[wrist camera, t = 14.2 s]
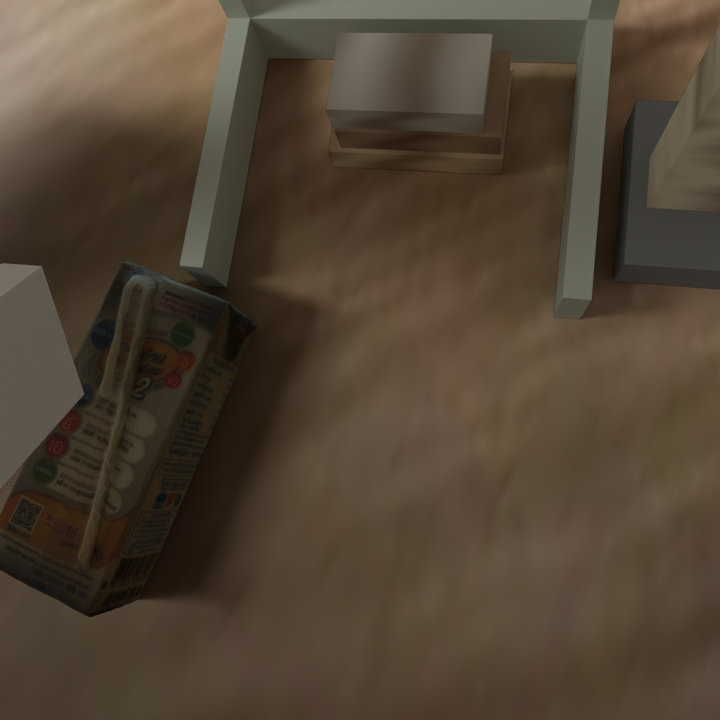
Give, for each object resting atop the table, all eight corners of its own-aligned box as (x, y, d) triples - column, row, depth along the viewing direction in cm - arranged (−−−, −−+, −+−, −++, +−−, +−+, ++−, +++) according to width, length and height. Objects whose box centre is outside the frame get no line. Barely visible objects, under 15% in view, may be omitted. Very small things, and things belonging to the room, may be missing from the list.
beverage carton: (267, 324, 42) (230, 295, 36) (144, 608, 40) (82, 630, 34) (164, 285, 44) (112, 251, 38) (41, 554, 42) (-36, 566, 36)
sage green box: (205, 285, 43) (128, 226, 34) (252, 39, 47) (194, -80, 37) (579, 319, 39) (614, 261, 29) (603, 42, 42) (641, -92, 32)
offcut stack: (334, 166, 43) (312, 116, 38) (347, 85, 45) (328, 25, 39) (501, 174, 41) (505, 123, 36) (511, 89, 42) (516, 26, 37)
